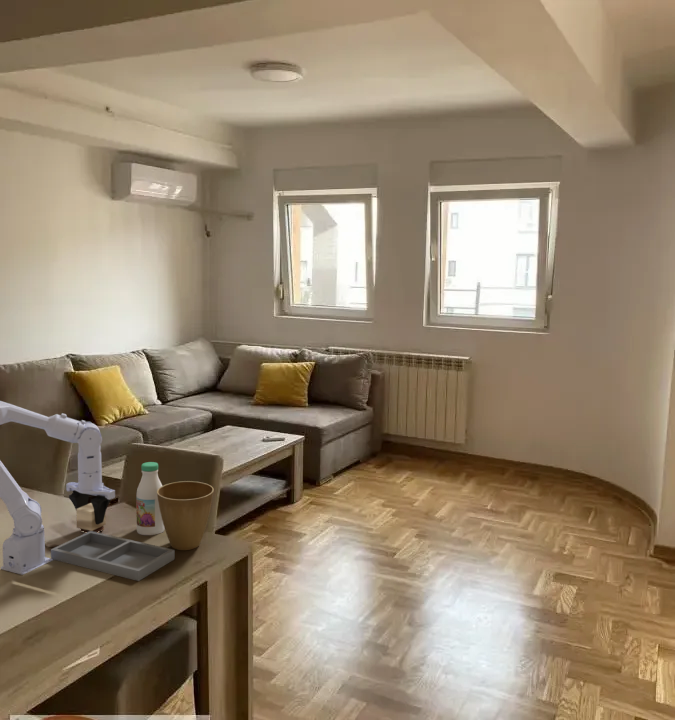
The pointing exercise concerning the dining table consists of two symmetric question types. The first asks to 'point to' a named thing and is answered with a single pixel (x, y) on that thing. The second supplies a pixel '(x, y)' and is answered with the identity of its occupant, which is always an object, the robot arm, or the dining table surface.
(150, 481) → the milk bottle
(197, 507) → the plant pot
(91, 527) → the maple cube
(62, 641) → the dining table surface
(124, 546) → the tray
